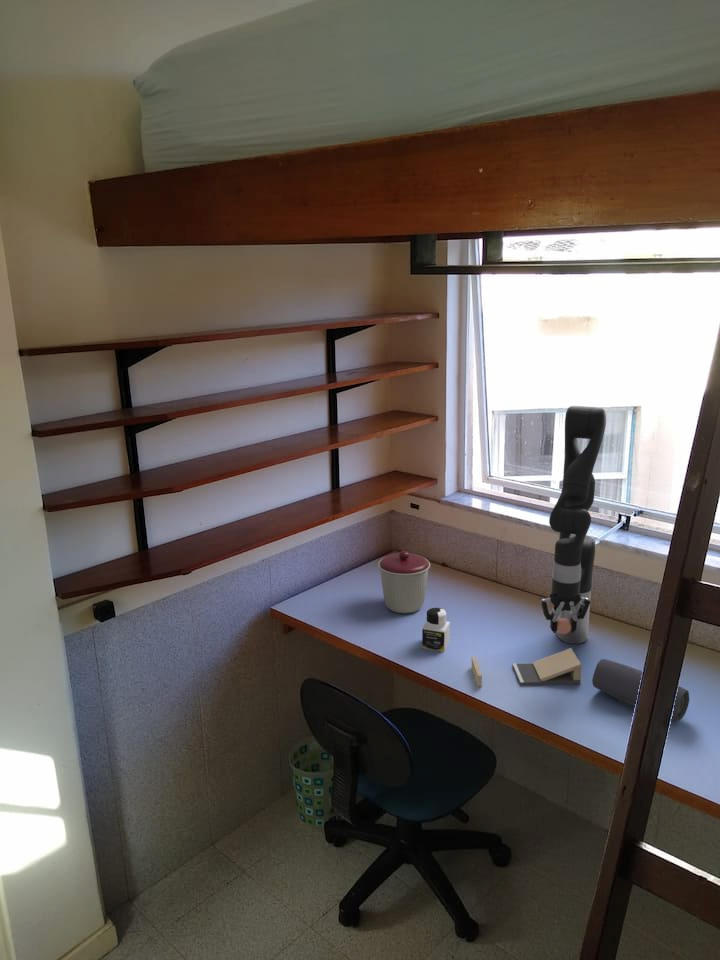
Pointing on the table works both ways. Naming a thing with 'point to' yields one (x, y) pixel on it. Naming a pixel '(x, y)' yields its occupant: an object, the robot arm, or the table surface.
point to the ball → (563, 626)
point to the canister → (404, 581)
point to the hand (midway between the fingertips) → (562, 631)
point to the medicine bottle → (436, 630)
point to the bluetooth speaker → (630, 685)
